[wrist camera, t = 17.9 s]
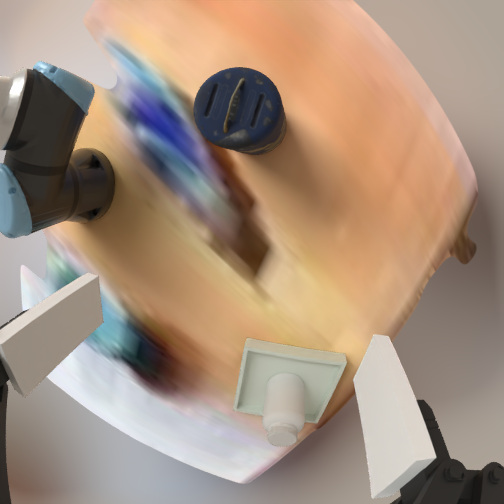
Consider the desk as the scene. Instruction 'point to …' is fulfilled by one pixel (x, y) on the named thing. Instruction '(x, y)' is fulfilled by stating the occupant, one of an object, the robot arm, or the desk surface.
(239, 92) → the canister
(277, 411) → the pill bottle
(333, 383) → the tray
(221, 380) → the desk surface
